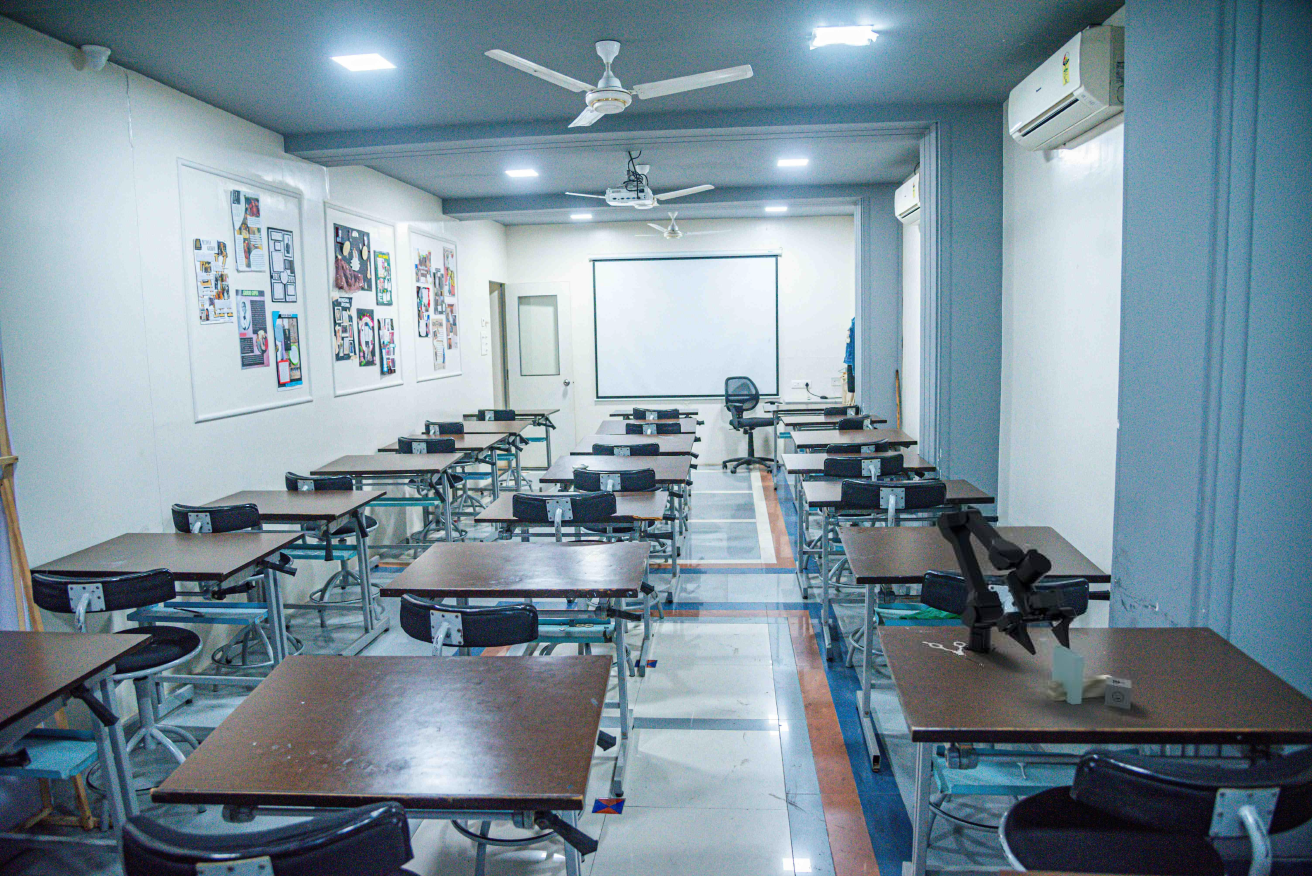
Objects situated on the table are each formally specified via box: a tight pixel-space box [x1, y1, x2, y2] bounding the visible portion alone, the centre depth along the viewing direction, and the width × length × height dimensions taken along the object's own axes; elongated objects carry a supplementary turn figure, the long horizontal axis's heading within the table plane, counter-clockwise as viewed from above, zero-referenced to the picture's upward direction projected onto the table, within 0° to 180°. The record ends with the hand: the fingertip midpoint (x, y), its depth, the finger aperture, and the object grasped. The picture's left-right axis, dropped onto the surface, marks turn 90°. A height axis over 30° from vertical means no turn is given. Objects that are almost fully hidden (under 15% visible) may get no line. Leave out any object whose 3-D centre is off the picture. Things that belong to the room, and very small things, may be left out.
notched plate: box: [1051, 645, 1085, 705], centre depth 197 cm, size 7×2×11 cm, turn 13°
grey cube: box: [1104, 676, 1132, 710], centre depth 195 cm, size 5×5×5 cm
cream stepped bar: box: [1047, 674, 1112, 702], centre depth 199 cm, size 16×2×4 cm, turn 104°
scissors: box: [922, 641, 983, 666], centre depth 225 cm, size 11×1×20 cm
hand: (1051, 652), depth 202 cm, fingers open, 9 cm apart
